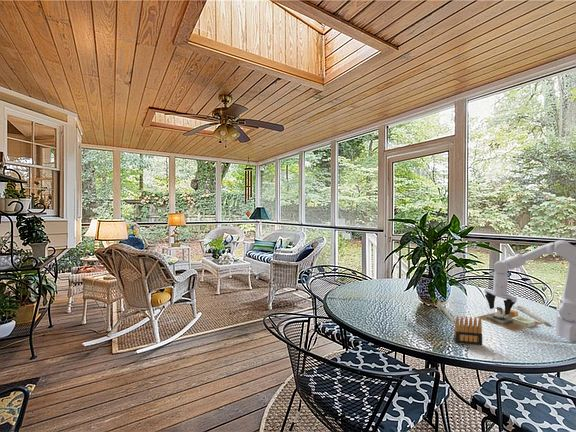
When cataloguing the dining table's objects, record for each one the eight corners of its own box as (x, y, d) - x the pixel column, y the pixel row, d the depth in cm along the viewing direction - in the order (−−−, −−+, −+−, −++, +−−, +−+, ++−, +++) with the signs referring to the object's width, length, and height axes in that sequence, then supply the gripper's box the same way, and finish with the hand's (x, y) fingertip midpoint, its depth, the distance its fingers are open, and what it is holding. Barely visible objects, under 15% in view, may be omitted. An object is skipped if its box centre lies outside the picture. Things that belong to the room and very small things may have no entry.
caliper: (437, 309, 166) (437, 298, 166) (439, 309, 166) (439, 298, 166) (453, 324, 146) (454, 312, 146) (456, 324, 146) (456, 312, 146)
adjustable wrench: (551, 327, 143) (552, 323, 143) (536, 326, 145) (536, 322, 144) (522, 308, 168) (522, 305, 167) (510, 307, 169) (510, 305, 169)
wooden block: (517, 317, 151) (518, 311, 150) (505, 320, 146) (505, 314, 146) (511, 315, 153) (511, 309, 153) (499, 318, 149) (499, 312, 149)
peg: (505, 322, 145) (505, 309, 145) (497, 322, 145) (497, 309, 145) (500, 319, 148) (501, 306, 148) (493, 319, 149) (493, 306, 149)
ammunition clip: (480, 343, 126) (481, 316, 125) (482, 345, 124) (483, 318, 123) (453, 340, 128) (454, 314, 127) (455, 342, 126) (455, 316, 126)
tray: (535, 325, 142) (535, 321, 142) (526, 327, 139) (526, 323, 139) (519, 319, 148) (519, 315, 148) (510, 321, 146) (511, 318, 146)
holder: (542, 325, 144) (543, 320, 144) (514, 333, 135) (514, 328, 135) (503, 312, 161) (503, 307, 161) (475, 318, 152) (475, 314, 152)
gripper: (521, 288, 141) (520, 315, 141) (491, 280, 154) (490, 305, 155) (511, 289, 138) (510, 317, 139) (482, 281, 152) (481, 306, 153)
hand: (499, 311), depth 147 cm, fingers open, 7 cm apart
